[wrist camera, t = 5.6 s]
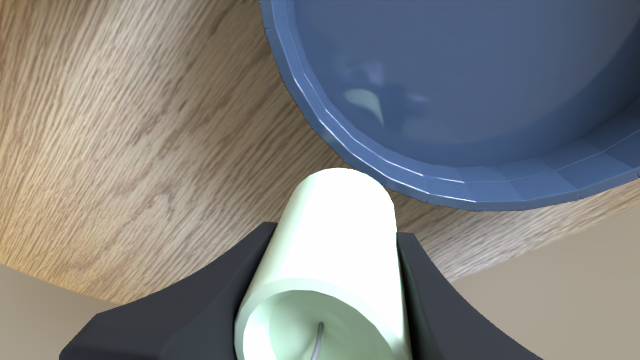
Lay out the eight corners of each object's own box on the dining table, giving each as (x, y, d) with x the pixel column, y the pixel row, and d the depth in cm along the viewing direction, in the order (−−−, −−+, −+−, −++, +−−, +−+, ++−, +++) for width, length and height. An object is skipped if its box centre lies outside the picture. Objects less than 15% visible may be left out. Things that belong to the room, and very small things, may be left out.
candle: (267, 198, 15) (174, 358, 8) (358, 146, 14) (343, 290, 6) (326, 271, 17) (292, 462, 9) (414, 232, 15) (456, 431, 8)
